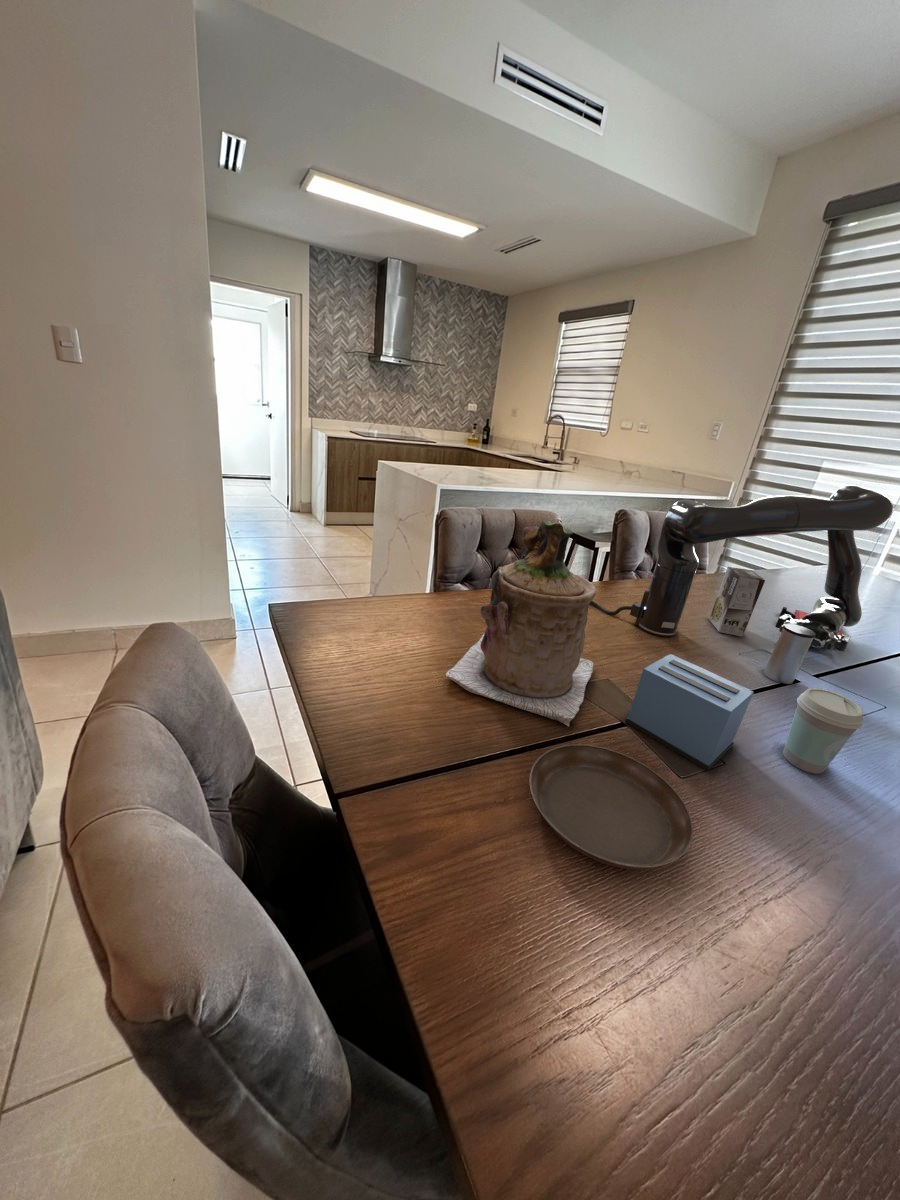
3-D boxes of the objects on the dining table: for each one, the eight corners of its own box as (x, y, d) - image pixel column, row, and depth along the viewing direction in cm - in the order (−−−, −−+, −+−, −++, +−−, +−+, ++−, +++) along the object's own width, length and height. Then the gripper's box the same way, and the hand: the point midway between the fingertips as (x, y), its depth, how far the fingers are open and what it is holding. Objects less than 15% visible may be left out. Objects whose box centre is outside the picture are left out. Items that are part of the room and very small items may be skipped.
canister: (759, 674, 105) (780, 626, 101) (768, 667, 109) (788, 621, 105) (789, 687, 102) (811, 638, 97) (796, 679, 105) (818, 632, 101)
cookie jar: (595, 669, 99) (635, 520, 87) (572, 732, 78) (620, 549, 66) (486, 635, 108) (509, 496, 96) (439, 684, 87) (461, 514, 75)
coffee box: (743, 637, 124) (766, 580, 118) (718, 632, 125) (739, 575, 119) (732, 623, 133) (752, 569, 126) (707, 619, 133) (727, 565, 127)
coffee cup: (817, 786, 73) (851, 723, 68) (763, 750, 80) (790, 691, 75) (844, 772, 77) (878, 711, 72) (790, 739, 84) (818, 682, 79)
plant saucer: (522, 749, 73) (526, 732, 72) (657, 771, 72) (663, 754, 71) (529, 869, 54) (534, 849, 53) (712, 902, 53) (722, 881, 52)
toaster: (624, 721, 83) (641, 667, 79) (655, 701, 90) (672, 650, 86) (707, 771, 73) (732, 712, 69) (734, 744, 81) (758, 689, 76)
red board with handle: (777, 639, 125) (846, 661, 117) (782, 629, 124) (851, 651, 116) (779, 609, 148) (837, 626, 141) (783, 601, 147) (841, 618, 140)
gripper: (795, 600, 123) (776, 612, 113) (862, 621, 114) (848, 636, 103) (784, 626, 126) (764, 639, 116) (849, 648, 117) (833, 666, 106)
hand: (804, 638), depth 110 cm, fingers open, 8 cm apart
